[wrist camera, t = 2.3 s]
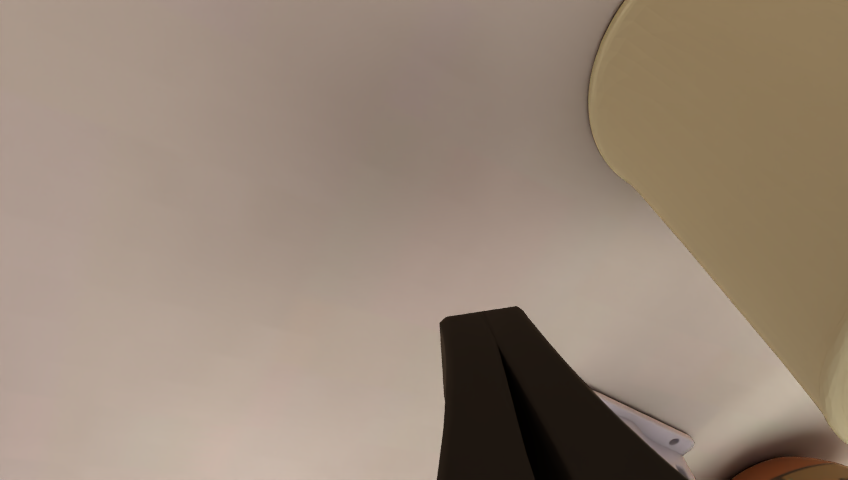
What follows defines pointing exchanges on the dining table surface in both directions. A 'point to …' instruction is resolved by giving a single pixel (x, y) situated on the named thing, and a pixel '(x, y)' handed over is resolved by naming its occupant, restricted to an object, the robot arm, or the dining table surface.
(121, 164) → the dining table surface
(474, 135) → the dining table surface
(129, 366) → the dining table surface
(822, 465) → the ceramic vessel
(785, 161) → the can
